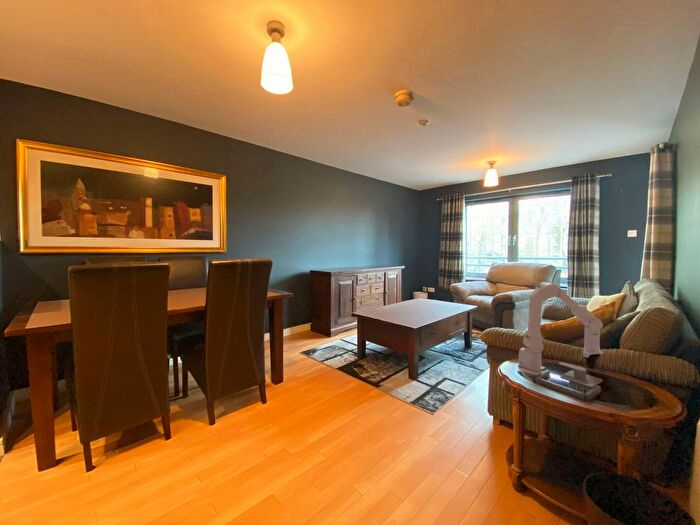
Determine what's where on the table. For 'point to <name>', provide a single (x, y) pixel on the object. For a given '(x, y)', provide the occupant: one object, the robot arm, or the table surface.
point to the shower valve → (580, 376)
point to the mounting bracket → (583, 396)
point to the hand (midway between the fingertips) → (591, 368)
